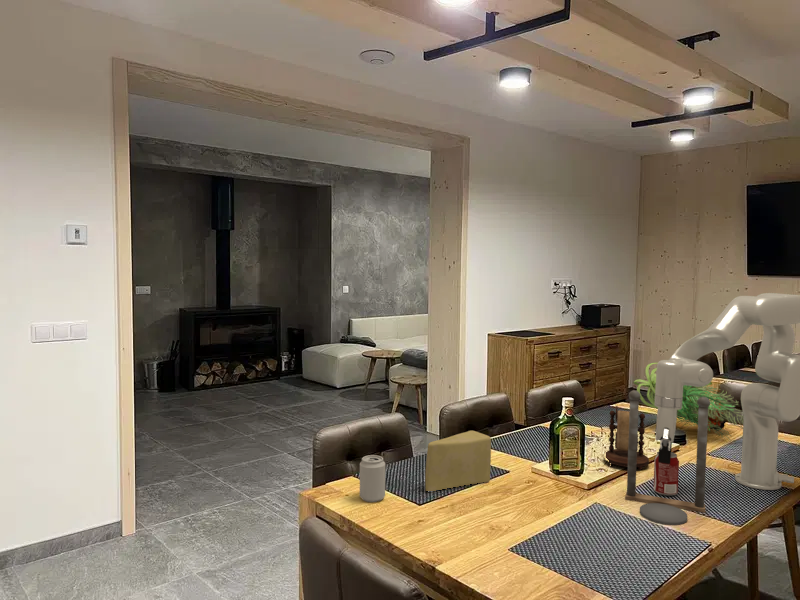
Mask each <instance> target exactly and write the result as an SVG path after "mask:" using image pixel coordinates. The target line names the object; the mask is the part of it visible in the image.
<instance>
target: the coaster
mask: <svg viewBox="0 0 800 600" xmlns="http://www.w3.org/2000/svg"><path fill="white" fill-rule="evenodd" d="M639 514H640V516H641V517H642V518H644V519H645V520H648V521H649V522H653V523H656V524H661V525H667V526H677V525H678V526H679V525H684V524H685V523H687V521H688V513H687V512H685V510H684V509H679V508H677V507H674V506H671V505H666V504H660V503H644V504H642V505H640V507H639Z"/></svg>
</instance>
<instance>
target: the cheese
mask: <svg viewBox="0 0 800 600" xmlns="http://www.w3.org/2000/svg"><path fill="white" fill-rule="evenodd" d="M426 451H427V452H426V459H425V460H426V461H425V481H424V482H425V486H424V487H425V488H424V489H425V492H426V491H436V490H442V489H446V490H448V489H447V488H451V489H454V488H453V487H456V488H460V487H459V486H461V487H465V486H464V485H466V486H470V484H472V485H477V483H478V484H482V483H483V482H484V483H488V482H490V481H491V462H492V461H491V459H492V438H491V436H489V435H487V434H484V433H481V432H479V431H475V430H468V431H465V432H461V433H457V434H455V435H451V436H449V437H448V436H447V437H445V438H444V437H443V438H441V439H437V440H433V441H431V442H429V443H428V444H427V450H426ZM442 491H443V490H442Z"/></svg>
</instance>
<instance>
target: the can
mask: <svg viewBox="0 0 800 600" xmlns="http://www.w3.org/2000/svg"><path fill="white" fill-rule="evenodd" d="M359 497H360V498H361V499H362V500H363V501H364V502H367V503H377V501H378V502H380V501H382V500H383V499H384V498H385V497H386V462H385V460H384V458H383V456H380V455H376V454H375V455H374V454H373V455H372V454H370V455H365V456H363V457H362V458H361V461H360V463H359Z"/></svg>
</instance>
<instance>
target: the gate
mask: <svg viewBox="0 0 800 600" xmlns="http://www.w3.org/2000/svg"><path fill="white" fill-rule="evenodd" d="M640 394H641V392H640V393H639V392H638V391H637V389H636V390H635V389H633V390H631V391H629V393H628V398H629V411H630V413H629V443H628V467H627V472H626V473H627V474H626V476H627V477H626V478H627V479H626V492H625V495H624V500H627V501H632V502H637V503H644V504H648V503H660V504H666V505H671V506H674V507H677V508H679V509H681V510H684V511H685V510H686V511H692V512H693V511H694V512H698V513H702V514H703V513H704V514H705V513H706V504H705V497H706V496H705V495H706V493H705V492H706V471H707V470H706V469H707V468H706V467H707V446H708V428H707V427H708V407H709V405H711V404H710V399H708V398H707V397H700V398H699V399H698V401H697V404H698V406H699V411H698V425H697V435H696V436H697V437H696V438H697V441H696V460H695V462H696V463H695V465H696V466H695V483H694V484H695V485H694V486H695V490H694V491H695V492H694V502H691V501H684V500H678V499H672V498H668V497H667V498H665V497H662V496H661V497H660V496H655V495H654V496H653V495H648V494H641V493H637V492H636V491H637V489H636V488H637V487H636V486H637V467H636V466H637V452H638V450H637V437H638V438H639V434H638V433H639V432H638V428H639V414H638V413H639V409H640V405H639V402H640V400H641V399H640Z"/></svg>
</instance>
